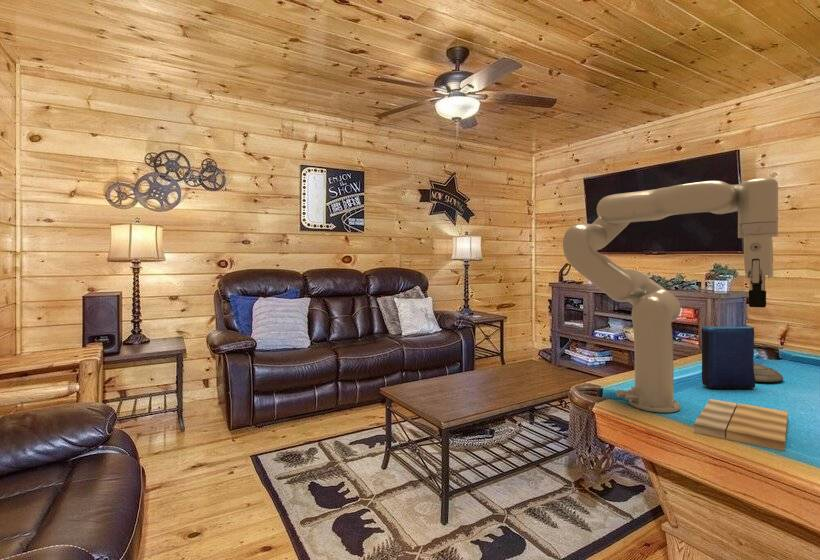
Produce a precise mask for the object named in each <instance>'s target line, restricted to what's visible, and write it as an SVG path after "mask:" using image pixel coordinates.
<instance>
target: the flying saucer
mask: <svg viewBox="0 0 820 560" xmlns="http://www.w3.org/2000/svg"><path fill="white" fill-rule="evenodd" d="M754 375H755V383H756V382H757V383H759V382H760V383H774V382H775V383H776V382H780V381H783V380H784V379H785V378H784V376H783V375H782V374H781V373H780V372H779V371H777V369H776V370H775V369H774V368H772V367H769V366H765V365H764V364H761V363H756V362H754Z"/></svg>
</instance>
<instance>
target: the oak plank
mask: <svg viewBox="0 0 820 560" xmlns="http://www.w3.org/2000/svg"><path fill="white" fill-rule="evenodd" d="M788 418H789V411H786V410H782V409H781V410H779V409H773V408H768V407H761V406H757V405H756V406H755V405H751V404H743V403H737V408H736V410H735V412H734V414H733V417H732V419H731V421H730V423H729V426H728V428H727V430H726V437H725V439H726V440H728V441H729V440H730V441H733V442H739V443H743V444H749V445H754V446H758V447H763V448H768V449H774V450H776V451H777V450H778V451H782V452H785V450H786V443H787V442H786V439H787V430H788V422H789V421H788V420H789V419H788Z"/></svg>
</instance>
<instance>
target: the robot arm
mask: <svg viewBox="0 0 820 560" xmlns="http://www.w3.org/2000/svg"><path fill="white" fill-rule="evenodd" d="M735 212H737V238H738V239H743V259H744V260H743V265H744V274H745V275H744V276H745V278H747V279H749V290H748V307H750V308H763V309H764V308H766V307H767V290H766V276H767V278H768V279H771V278H772V277H774V247H773V246H774V245H773V237H779V183H778V180H777V179H775V178H771V177H767V178H766V177H763V178H762V177H761V178H754V179H753V178H752V179H748V180H745V181H742V182H740V183H739V184H730V183H727V182H725V181H722V180H705V181H698V182H690V183H684V184H676V185H671V186H667V187H661V188H656V189H646V190H639V191H631V192H623V193H615V194H611V195H610V194H609V195H607V196H603V197H602V198H601V199H600V200H599V201H598V203H597V205H596V215H597V218H596V219H595V220H594V221H593V222H592V223H577V224H573V225H571V226H570V227H568V229H567V230H566V231H565V233H564V235H563V238H562V250H563V254H564V257H565V259H566V260H567V262H568V263H569V264H570V266H571V267H573V269H575V270H576V271H577V272H578V273H579V274H580V275H582V276H583V277H584V278H586V279H587V280H588V281H589V282H590V283H592V284H593V285H594V286H595V287H596V288H598V289H599V290H600V291H602V292H603V293H604V294H605V295H606V296H608V297H609V299H611V300H613V301H615V302H617V303H625V302H628V303H629V304H631V305H632V309H631V321H632V329H633V341H634V342H633V343H634V346H633V347H634V386H630V387H631V388H630V389H628V390H616V397H617V398H625V400H628V404H630V405H631V407H633V408H636V409H639V410H642V411H646V412H652V413H662V414H663V413H675V412H678V411H680V409H681V404H680V403H679V402H678V401H677V400H675V399H674V396H675V395H674V391H675V390H674V387H675V386H674V385H675V384H674V337H673V330H672V329H673V328H672V323H673V322H674V321H676V320H677V319H678V318H679V316H680V314H681V309H682V308H681V303H680V301H679V299H678V298H677V297H676V296H674V294H673V293H671V292H670V291H669V290H667V289H666V288H665V287H663V286H661V285H660V284H658V283H657V282H656V281H654V280H653V279H652V278H651V277H649V276H647V275H646V274H645V273H643V272H640V271H639V270H635V269H625V268H623V267H621V266H619V265H617V264H616V263H615V262H613V261H612V260H611V259H610V258H608V257H607V256H606V255H604V254H603V253H601V252H599V251H600V250H602V249H603V248H605V247H606V246H607V245H609V244H610V243H611V242H612V241H613V240H614V239H615V238H616V237H617V236H618V235H619V234H620V233H621V232H622V231H623V230H624V229H626V228H627V227H628V225H629V224H631V223H638V222H639V223H640V222H648V221H649V222H650V221H652V222H653V221H659V220H663V219H665V218H667V217H670V216H675V215H685V214H696V213H697V214H698V213H710V214H711V213H712V214H713V215H714V214H715V215H726V214H730V213H735Z"/></svg>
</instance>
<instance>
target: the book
mask: <svg viewBox="0 0 820 560" xmlns="http://www.w3.org/2000/svg"><path fill="white" fill-rule="evenodd" d="M754 356H755V327H753V326H750V325H748V324H744V325H726V326H720V325H719V326H714V325H713V326H712V325H711V326H707V325H706V326H702V328H701V382H702V385H703V386H705V387H708V388H710V389H711V388H712V389H755V388H756V381H755V375H754V363H755V361H754Z"/></svg>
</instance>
